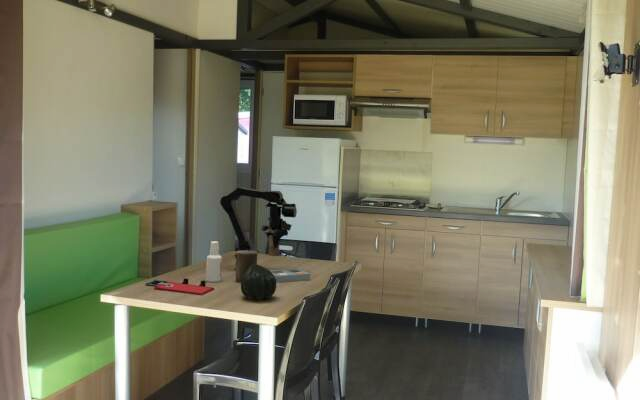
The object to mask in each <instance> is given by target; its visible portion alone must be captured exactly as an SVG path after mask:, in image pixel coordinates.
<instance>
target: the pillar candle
mask: <svg viewBox="0 0 640 400" xmlns="http://www.w3.org/2000/svg"><path fill="white" fill-rule="evenodd" d="M236 254H237V258H235V268H236V270H235V282H238V283H241V281H242V279H243V276H244V274H245V273H246V272H247V270H248V269H249V268H250V266H251V265H252V264H257V265H258V251H255V250H254V251H248V250H247V251H246V250H243V251H239V250H237V251H236Z"/></svg>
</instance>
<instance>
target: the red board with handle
mask: <svg viewBox="0 0 640 400" xmlns="http://www.w3.org/2000/svg"><path fill="white" fill-rule="evenodd" d="M206 282H207V281H206V280H200V284H199V285H197V284H190V283H189V278H183V281H182V282H181V283H180V282H173V281H168V280H159V279H154V280H151V281H148V282H146V283H145V285H150V286H154V287H153V290H154V291H155V290H156V291H164V292H171V293H180V294H189V295H196V296H203V295H206V294H208V293H210V292H213V291H214V290H215V287H211V286H206Z"/></svg>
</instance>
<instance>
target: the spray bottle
mask: <svg viewBox="0 0 640 400" xmlns="http://www.w3.org/2000/svg"><path fill="white" fill-rule="evenodd" d="M209 249H210V250H209V255H207V256H206V265H205V266H206V267H205V270H206V271H205V281H206V282H209V283H210V282H211V283H217V282H221V281H222V266H223V265H222V263H223V262H222V260H223V257H222V256H221V255H220V246H219V241H215V240H213V241H212V240H211V242H210V247H209Z"/></svg>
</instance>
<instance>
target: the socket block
mask: <svg viewBox="0 0 640 400" xmlns="http://www.w3.org/2000/svg"><path fill="white" fill-rule="evenodd" d="M269 270H270V271H271V272H272V273H273V275H274V276H275V278H276V284H277V283H288V282H290V283H291V282H302V281H303V282H304V281H311V273H309V272H307V271H305V270H302V269H300V268H288V269H287V268H285V269H283V268H282V269H269Z"/></svg>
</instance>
